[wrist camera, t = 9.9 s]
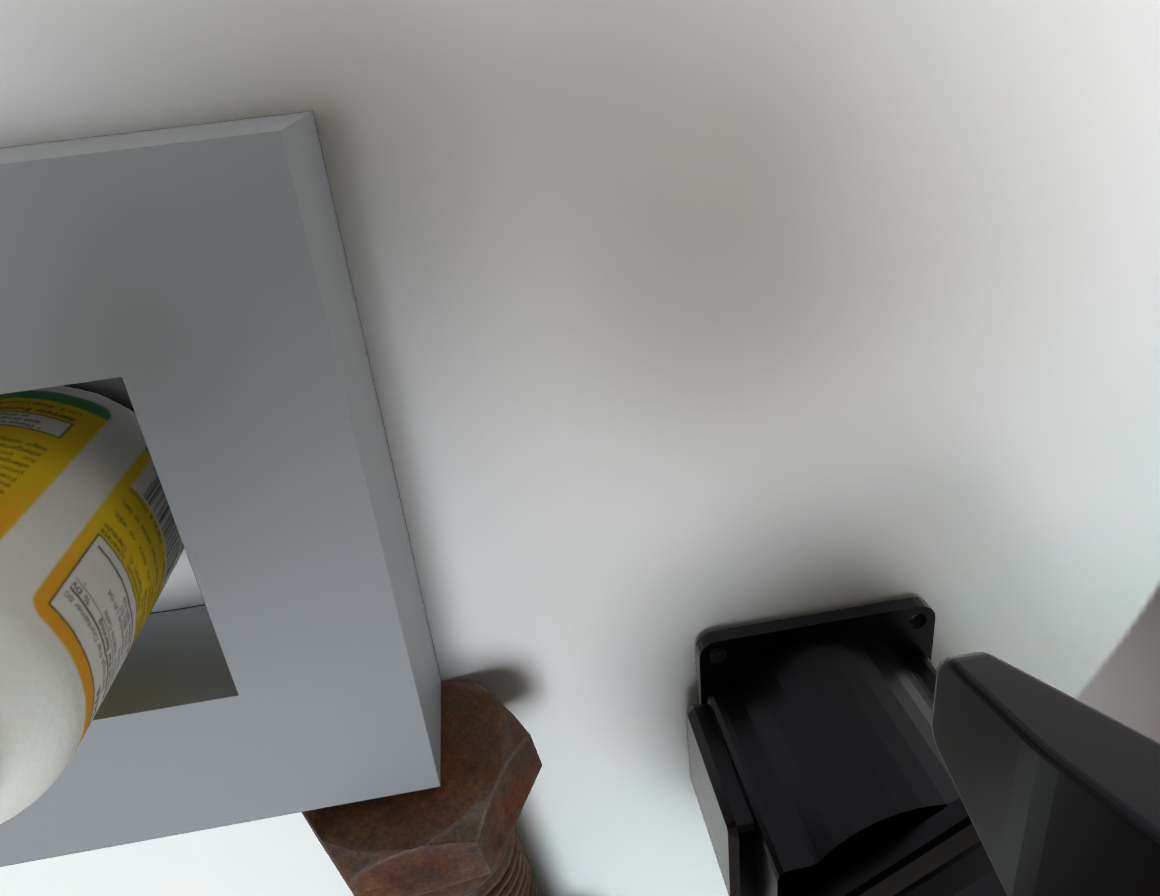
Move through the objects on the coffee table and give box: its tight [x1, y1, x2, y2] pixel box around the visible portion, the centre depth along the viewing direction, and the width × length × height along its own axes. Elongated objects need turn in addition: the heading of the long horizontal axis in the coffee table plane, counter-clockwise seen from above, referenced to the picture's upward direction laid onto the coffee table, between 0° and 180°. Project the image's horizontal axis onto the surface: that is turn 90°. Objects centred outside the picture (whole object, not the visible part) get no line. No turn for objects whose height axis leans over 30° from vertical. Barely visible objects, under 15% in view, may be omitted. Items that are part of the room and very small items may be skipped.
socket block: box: [0, 111, 441, 867], centre depth 17 cm, size 14×14×4 cm
